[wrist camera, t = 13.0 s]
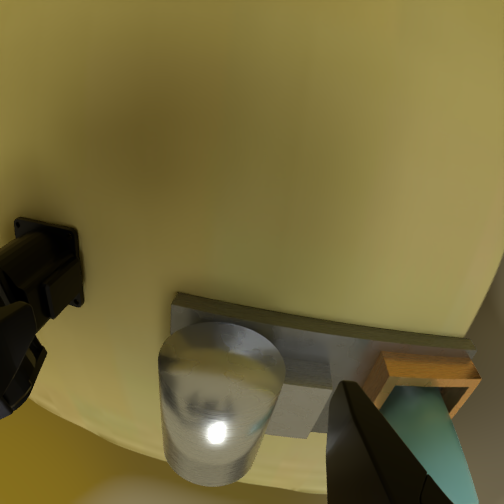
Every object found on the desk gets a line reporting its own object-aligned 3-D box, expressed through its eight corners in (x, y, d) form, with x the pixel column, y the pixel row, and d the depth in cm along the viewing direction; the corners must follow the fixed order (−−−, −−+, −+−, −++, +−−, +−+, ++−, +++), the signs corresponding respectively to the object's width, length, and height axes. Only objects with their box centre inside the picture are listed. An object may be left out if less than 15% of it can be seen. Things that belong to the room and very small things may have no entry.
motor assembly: (175, 394, 26) (147, 473, 18) (178, 292, 21) (129, 382, 14) (412, 423, 25) (430, 493, 18) (470, 338, 21) (513, 414, 13)
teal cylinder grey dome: (364, 412, 23) (385, 549, 11) (392, 369, 20) (433, 523, 9) (416, 413, 23) (447, 535, 11) (445, 372, 20) (497, 504, 9)
